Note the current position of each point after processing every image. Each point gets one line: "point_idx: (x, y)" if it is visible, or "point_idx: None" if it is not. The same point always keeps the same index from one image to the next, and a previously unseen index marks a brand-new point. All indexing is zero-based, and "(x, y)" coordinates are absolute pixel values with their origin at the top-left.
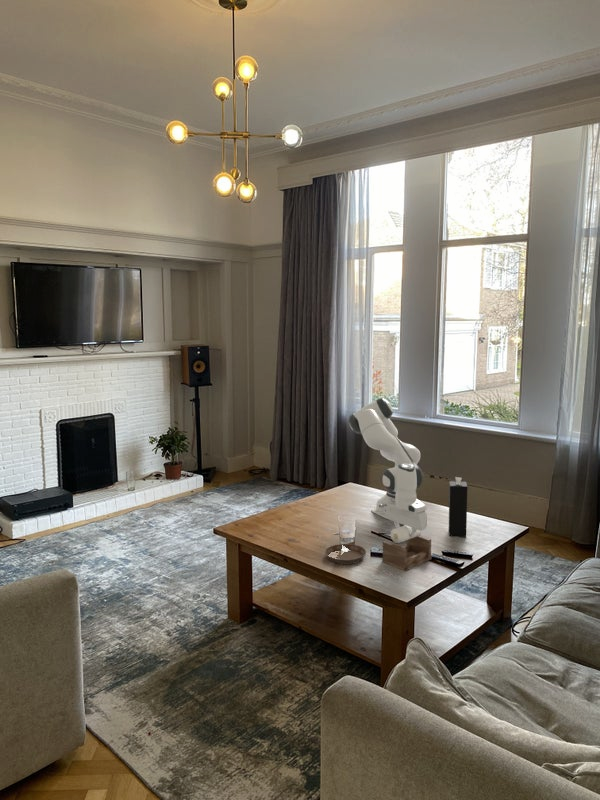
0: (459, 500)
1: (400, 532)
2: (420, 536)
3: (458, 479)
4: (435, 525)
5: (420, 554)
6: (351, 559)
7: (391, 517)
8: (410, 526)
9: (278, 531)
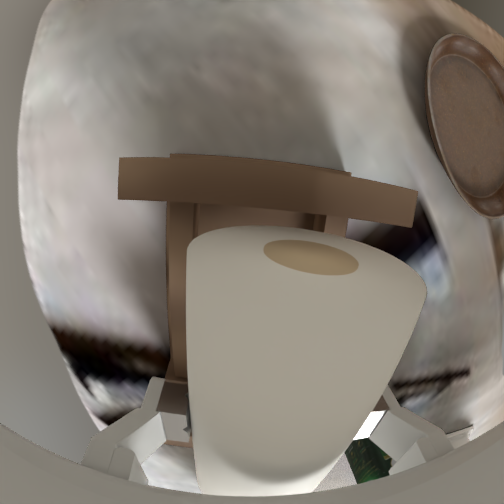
0: None
1: (218, 307)
2: None
3: None
4: (324, 487)
5: (172, 334)
6: (433, 47)
7: (500, 458)
8: (114, 486)
9: None
